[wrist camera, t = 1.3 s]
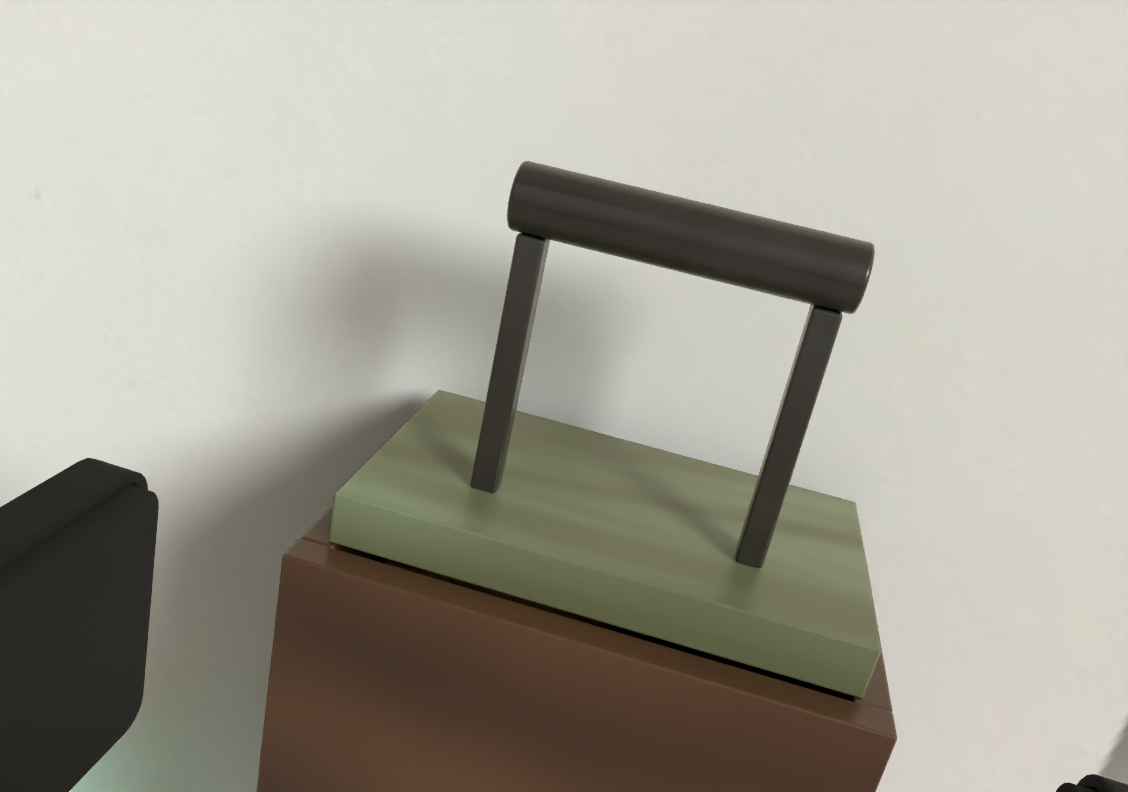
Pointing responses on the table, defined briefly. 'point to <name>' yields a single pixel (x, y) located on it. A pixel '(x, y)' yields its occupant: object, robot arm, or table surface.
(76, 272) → the table surface
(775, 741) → the cabinet
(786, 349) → the table surface
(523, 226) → the drawer
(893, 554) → the table surface
